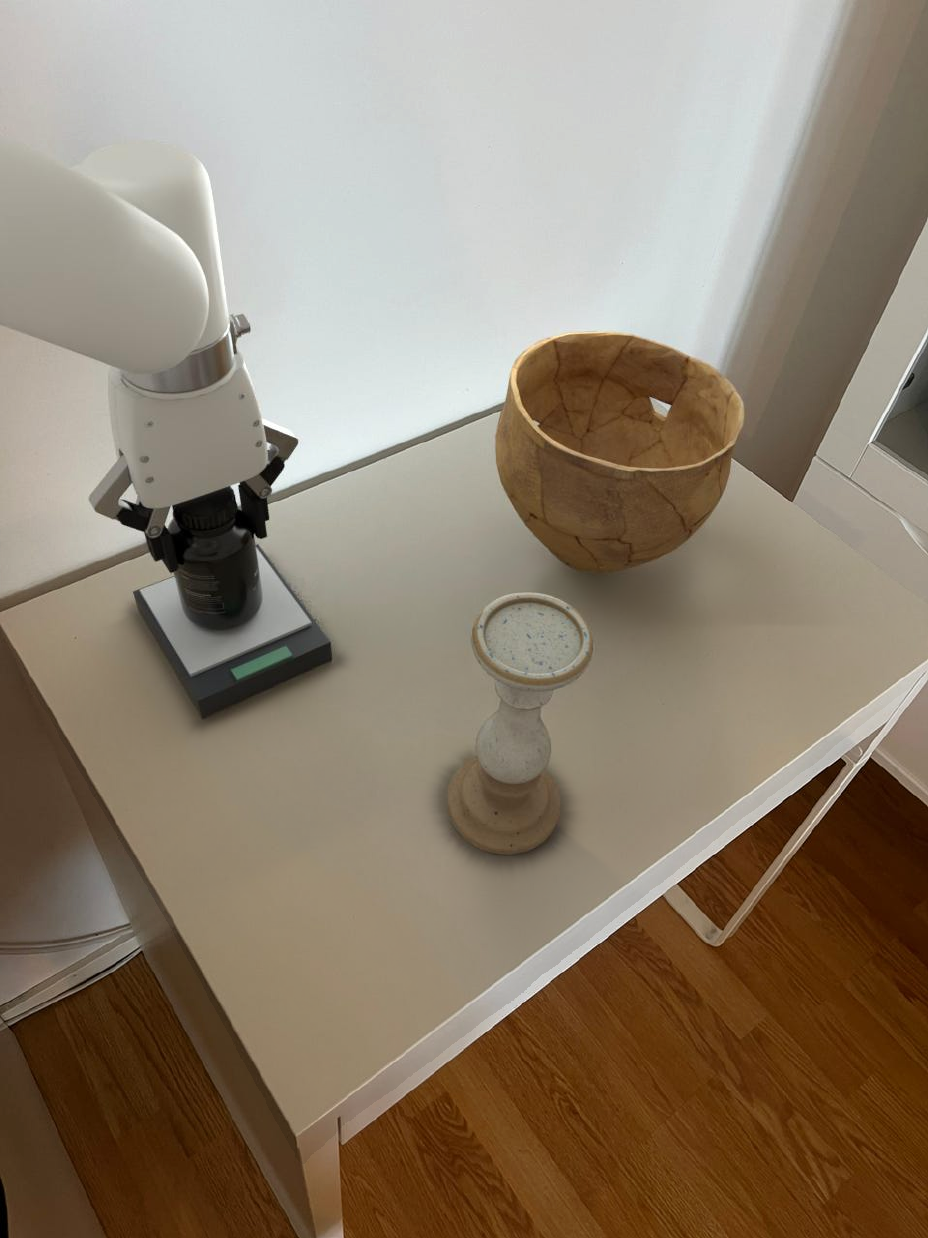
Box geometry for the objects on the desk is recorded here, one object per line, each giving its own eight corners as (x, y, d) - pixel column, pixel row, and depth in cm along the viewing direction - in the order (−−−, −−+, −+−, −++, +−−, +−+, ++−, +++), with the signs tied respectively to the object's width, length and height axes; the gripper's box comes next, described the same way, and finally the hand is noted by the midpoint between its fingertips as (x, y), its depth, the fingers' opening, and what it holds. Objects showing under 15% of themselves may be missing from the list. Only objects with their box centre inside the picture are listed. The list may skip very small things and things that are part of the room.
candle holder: (503, 738, 76) (531, 563, 61) (582, 809, 72) (633, 640, 57) (423, 800, 72) (432, 627, 57) (502, 879, 68) (535, 716, 53)
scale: (202, 719, 76) (196, 698, 74) (138, 610, 83) (131, 588, 81) (332, 660, 81) (330, 638, 79) (260, 562, 88) (257, 540, 86)
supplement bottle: (280, 605, 80) (266, 499, 71) (214, 646, 77) (192, 540, 68) (231, 564, 83) (212, 457, 74) (166, 602, 80) (138, 495, 71)
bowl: (478, 491, 97) (494, 318, 82) (668, 495, 99) (718, 326, 84) (489, 643, 83) (511, 467, 68) (711, 645, 85) (779, 473, 70)
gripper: (269, 292, 67) (288, 483, 80) (23, 356, 60) (89, 554, 73) (318, 342, 63) (330, 535, 76) (62, 417, 56) (123, 615, 69)
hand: (212, 543), depth 75 cm, fingers closed on supplement bottle, 6 cm apart
